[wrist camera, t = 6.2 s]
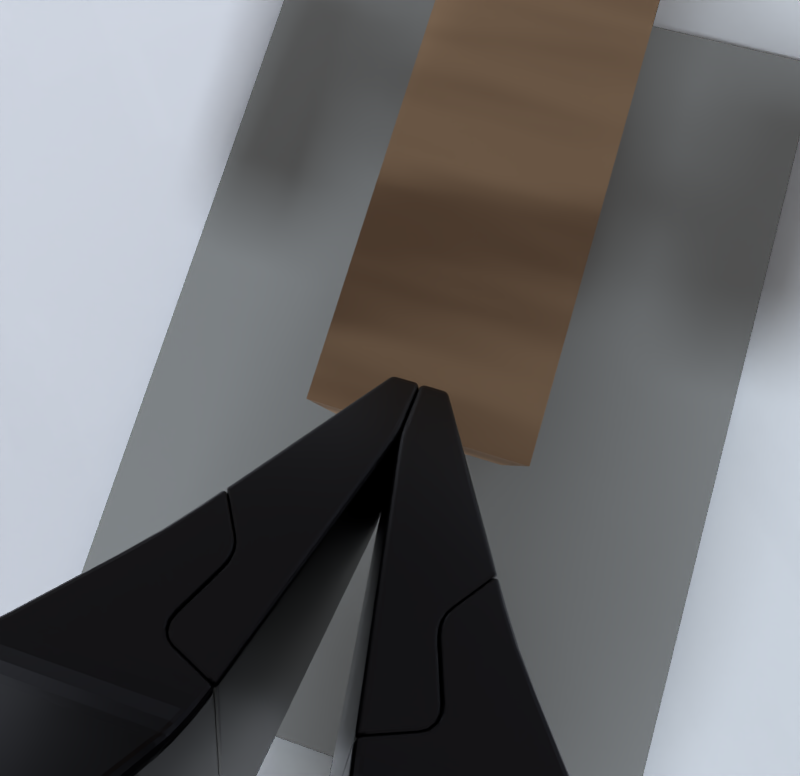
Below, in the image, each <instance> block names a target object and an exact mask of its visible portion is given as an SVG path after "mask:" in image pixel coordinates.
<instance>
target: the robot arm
mask: <svg viewBox="0 0 800 776" xmlns="http://www.w3.org/2000/svg"><path fill="white" fill-rule="evenodd" d="M379 518H380V519H379ZM378 520H379V524H378V528H377V532H376V537H375V541H374V547H373V552H372V557H371V562H370V568H369V573H368V578H367V583H366V589H365V594H364V599H363V604H362V610H361V615H360V620H359V625H358V631H357V636H356V641H355V646H354V652H353V657H352V662H351V667H350V673H349V678H348V683H347V688H346V694H345V699H344V704H343V709H342V715H341V720H340V725H339V730H338V736H337V741H336V746H335V751H334V757H333V762H332V767H331V772H330V776H570V775H569V773H568V770H567V768H566V765H565V763H564V760H563V758H562V755H561V753H560V750H559V748H558V746H557V743H556V741H555V738H554V736H553V733H552V731H551V728H550V726H549V723H548V721H547V719H546V716H545V714H544V711H543V709H542V706H541V704H540V701H539V699H538V696H537V694H536V691H535V689H534V686H533V683H532V681H531V678H530V675H529V673H528V670H527V667H526V665H525V662H524V659H523V657H522V654H521V651H520V649H519V646H518V642H517V639H516V636H515V633H514V630H513V626H512V623H511V620H510V617H509V613H508V610H507V607H506V603H505V599H504V596H503V592H502V588H501V585H500V581H499V580H498V579H496V578H497V571H496V567H495V564H494V560H493V556H492V553H491V549H490V545H489V542H488V538H487V534H486V531H485V527H484V523H483V520H482V516H481V512H480V509H479V505H478V501H477V498H476V494H475V490H474V487H473V483H472V479H471V476H470V472H469V468H468V464H467V461H466V457H465V453H464V450H463V446H462V442H461V439H460V435H459V431H458V428H457V424H456V420H455V417H454V413H453V409H452V406H451V402H450V398H449V395H448V393H447V392H445V391H443V390H439V389H436V388H432V387H429V386H426V385H423V386H421V387H420V388H419V386H418V384H417V383H415V382H412V381H409V380H406V379H402V378H399V377H390V378H389V379H387V380H386V381H384V382H383V383H381V384H380V385H378V386H377V387H375V388H374V389H372V390H371V391H369V392H368V393H367V394H365V395H364V396H362V397H361V398H359V399H358V400H356V401H355V402H353V403H352V404H350V405H349V406H347V407H346V408H344V409H343V410H341V411H340V412H338V413H337V414H335V415H334V416H332V417H331V418H329V419H328V420H327V421H325V422H324V423H322V424H321V425H319V426H318V427H316V428H315V429H313V430H312V431H310V432H309V433H307V434H306V435H304V436H303V437H301V438H300V439H298V440H297V441H295V442H294V443H292V444H291V445H289V446H288V447H287V448H285V449H284V450H282V451H281V452H279V453H278V454H276V455H275V456H273V457H272V458H270V459H269V460H267V461H266V462H264V463H263V464H261V465H260V466H258V467H257V468H255V469H254V470H252V471H251V472H249V473H248V474H247V475H245V476H244V477H242V478H241V479H239V480H238V481H236V482H235V483H233V484H232V485H230V486H229V487H227V489H226V492H225V491H221V492H219V493H218V494H216V495H215V496H213V497H212V498H210V499H209V500H208V501H206V502H205V503H203V504H202V505H200V506H199V507H197V508H195V509H194V510H192V511H191V512H189V513H188V514H186V515H184V516H183V517H181V518H180V519H178V520H176V521H175V522H173V523H172V524H170V525H169V526H167V527H165V528H164V529H162V530H160V531H159V532H157V533H155V534H153V535H151V536H150V537H148V538H146V539H144V540H143V541H141V542H139V543H137V544H135V545H134V546H132V547H130V548H128V549H127V550H125V551H123V552H121V553H119V554H118V555H116V556H114V557H112V558H110V559H108V560H106V561H104V562H103V563H101V564H99V565H97V566H95V567H93V568H91V569H89V570H88V571H86V572H84V573H82V574H80V575H78V576H76V577H74V578H73V579H71V580H69V581H67V582H65V583H63V584H61V585H59V586H58V587H56V588H54V589H52V590H50V591H48V592H46V593H44V594H43V595H41V596H39V597H37V598H35V599H33V600H31V601H29V602H28V603H26V604H24V605H22V606H20V607H18V608H16V609H14V610H12V611H11V612H9V613H7V614H5V615H3V616H1V617H0V776H256V775H257V773H258V771H259V769H260V767H261V765H262V762H263V760H264V758H265V756H266V754H267V752H268V750H269V748H270V746H271V744H272V742H273V740H274V738H275V736H276V734H277V731H278V729H279V727H280V725H281V723H282V721H283V719H284V717H285V715H286V713H287V711H288V709H289V707H290V705H291V702H292V700H293V698H294V696H295V694H296V692H297V690H298V688H299V686H300V684H301V682H302V680H303V678H304V676H305V674H306V671H307V669H308V667H309V665H310V663H311V661H312V659H313V657H314V655H315V653H316V651H317V649H318V647H319V645H320V642H321V640H322V638H323V636H324V634H325V632H326V630H327V628H328V626H329V624H330V622H331V620H332V618H333V616H334V614H335V611H336V609H337V607H338V605H339V603H340V601H341V599H342V597H343V595H344V593H345V591H346V589H347V587H348V585H349V583H350V580H351V578H352V576H353V574H354V572H355V570H356V568H357V566H358V564H359V562H360V560H361V558H362V556H363V554H364V551H365V549H366V547H367V545H368V543H369V541H370V539H371V537H372V535H373V532H374V530H375V528H376V526H377V523H378Z"/></svg>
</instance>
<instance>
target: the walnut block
mask: <svg viewBox="0 0 800 776" xmlns="http://www.w3.org/2000/svg"><path fill="white" fill-rule="evenodd" d="M659 1H660V0H435V3H434V6H433V9H432V12H431V15H430V18H429V21H428V24H427V28H426V31H425V34H424V37H423V40H422V43H421V46H420V49H419V52H418V55H417V58H416V62H415V65H414V68H413V71H412V74H411V77H410V80H409V83H408V86H407V89H406V92H405V96H404V99H403V102H402V105H401V108H400V111H399V114H398V117H397V120H396V123H395V126H394V130H393V133H392V136H391V139H390V142H389V145H388V148H387V151H386V154H385V157H384V160H383V163H382V167H381V170H380V173H379V176H378V179H377V182H376V185H375V188H374V191H373V194H372V197H371V201H370V204H369V207H368V210H367V213H366V216H365V219H364V222H363V225H362V228H361V231H360V235H359V238H358V241H357V244H356V247H355V250H354V253H353V256H352V259H351V262H350V265H349V268H348V272H347V275H346V278H345V281H344V284H343V287H342V290H341V293H340V296H339V299H338V302H337V306H336V309H335V312H334V315H333V318H332V321H331V324H330V327H329V330H328V333H327V336H326V340H325V343H324V346H323V349H322V352H321V355H320V358H319V361H318V364H317V367H316V370H315V374H314V377H313V380H312V383H311V386H310V389H309V392H308V395H307V398H306V399H308V400H310V401H312V402H314V403H316V404H318V405H320V406H322V407H324V408H326V409H328V410H329V411H331V412H333V413H335V414H337V413H338V412H340V411H341V410H343V409H344V408H346V407H347V406H349V405H350V404H352V403H353V402H355V401H356V400H358V399H359V398H361V397H362V396H364V395H365V394H367V393H368V392H369V391H371V390H372V389H374V388H375V387H377V386H378V385H380V384H381V383H383V382H384V381H386V380H387V379H389V378H390V377H399V378H402V379H406V380H409V381H412V382H415V383H417V384H418V386H419V388H420V387H421V386H423V385H426V386H429V387H432V388H436V389H439V390H443V391H445V392H447V393H448V395H449V398H450V402H451V406H452V409H453V413H454V417H455V420H456V424H457V428H458V431H459V435H460V439H461V442H462V446H463V450H464V453H465V454H466V455H470V456H473V457H476V458H480V459H483V460H486V461H489V462H493V463H496V464H499V465H509V466H530V463H531V459H532V456H533V452H534V449H535V445H536V441H537V438H538V434H539V431H540V427H541V424H542V420H543V416H544V413H545V409H546V406H547V402H548V399H549V395H550V391H551V388H552V384H553V381H554V377H555V373H556V370H557V366H558V363H559V359H560V356H561V352H562V348H563V345H564V341H565V338H566V334H567V331H568V327H569V323H570V320H571V316H572V313H573V309H574V305H575V302H576V298H577V295H578V291H579V288H580V284H581V280H582V277H583V273H584V270H585V266H586V262H587V259H588V255H589V252H590V248H591V245H592V241H593V237H594V234H595V230H596V227H597V223H598V220H599V216H600V212H601V209H602V205H603V202H604V198H605V194H606V191H607V187H608V184H609V180H610V177H611V173H612V169H613V166H614V162H615V159H616V155H617V152H618V148H619V144H620V141H621V137H622V134H623V130H624V126H625V123H626V119H627V116H628V112H629V109H630V105H631V101H632V98H633V94H634V91H635V87H636V83H637V80H638V76H639V73H640V69H641V66H642V62H643V58H644V55H645V51H646V48H647V44H648V41H649V37H650V33H651V30H652V26H653V23H654V19H655V15H656V12H657V8H658V5H659Z"/></svg>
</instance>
